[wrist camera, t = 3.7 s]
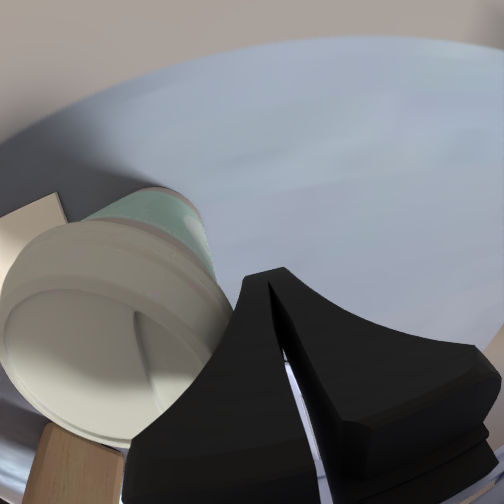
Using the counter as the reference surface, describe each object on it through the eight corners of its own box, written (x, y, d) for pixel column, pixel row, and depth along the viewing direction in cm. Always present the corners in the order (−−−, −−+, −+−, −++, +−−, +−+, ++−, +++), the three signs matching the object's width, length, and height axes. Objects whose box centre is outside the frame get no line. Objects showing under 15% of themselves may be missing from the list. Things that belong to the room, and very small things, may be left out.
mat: (56, 191, 16) (54, 192, 16) (119, 332, 21) (118, 335, 21) (-54, 247, 16) (-56, 249, 16) (2, 351, 21) (1, 353, 21)
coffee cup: (189, 312, 21) (181, 474, 10) (76, 259, 18) (-14, 394, 8) (253, 204, 18) (309, 340, 8) (123, 138, 16) (-11, 189, 5)
